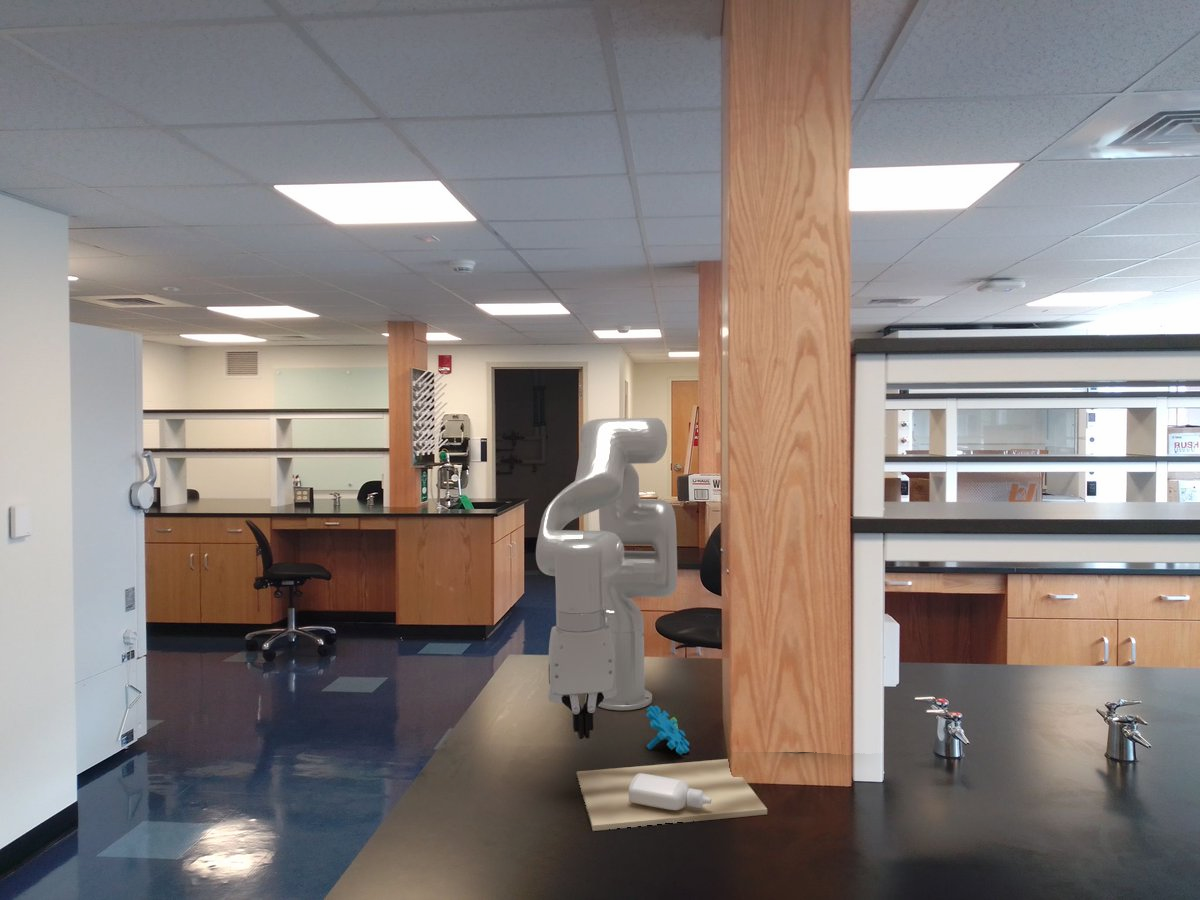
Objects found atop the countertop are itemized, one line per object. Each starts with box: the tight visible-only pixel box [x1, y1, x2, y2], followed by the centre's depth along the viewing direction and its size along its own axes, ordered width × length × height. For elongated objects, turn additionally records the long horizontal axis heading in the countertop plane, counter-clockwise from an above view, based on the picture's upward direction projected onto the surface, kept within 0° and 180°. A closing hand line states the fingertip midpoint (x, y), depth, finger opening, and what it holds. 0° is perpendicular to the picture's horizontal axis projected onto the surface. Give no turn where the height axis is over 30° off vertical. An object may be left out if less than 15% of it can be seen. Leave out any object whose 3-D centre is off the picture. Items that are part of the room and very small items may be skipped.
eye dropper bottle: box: [629, 773, 711, 810], centre depth 117 cm, size 4×6×12 cm
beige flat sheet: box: [576, 758, 768, 832], centre depth 122 cm, size 18×26×1 cm
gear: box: [646, 705, 690, 756], centre depth 140 cm, size 11×6×10 cm
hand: (583, 734), depth 122 cm, fingers closed
